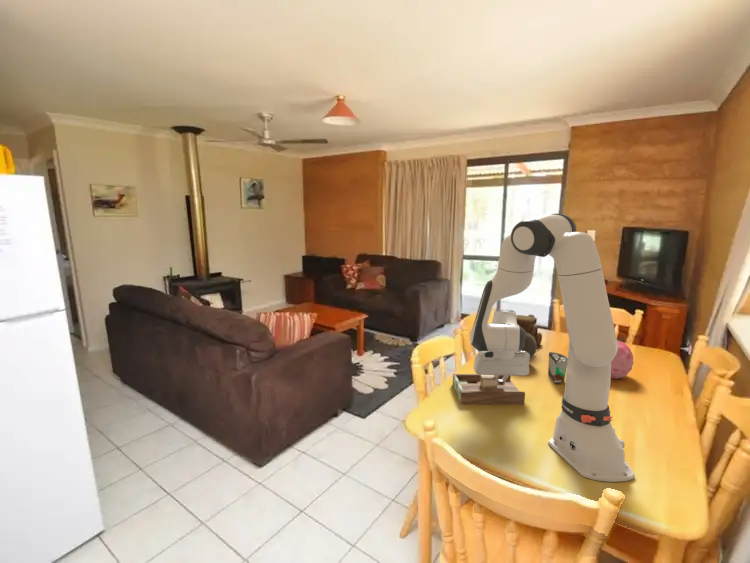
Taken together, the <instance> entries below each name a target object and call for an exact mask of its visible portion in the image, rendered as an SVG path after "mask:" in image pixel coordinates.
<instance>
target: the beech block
mask: <svg viewBox="0 0 750 563" xmlns="http://www.w3.org/2000/svg"><path fill="white" fill-rule="evenodd" d="M480 385H481V387H482V389H483V390H491V391H497V379H496V378H495V377H494V375H481V378H480Z"/></svg>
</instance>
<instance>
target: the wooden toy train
mask: <svg viewBox="0 0 750 563" xmlns="http://www.w3.org/2000/svg"><path fill="white" fill-rule="evenodd" d="M516 320H517V325H519V326H520V327H521V328H523V329H524V330H525V332H527V333H529V334H531V335H532V336H533V338H534V339H535V341H536V343H537V346H540V345H541V343H542V341H543V335H542V333H541V332H538V330H539V327H538V325H536V324H537V322H538V321H537V320H538V318H537V317H535V315H534V314H528V315H523V314H516Z"/></svg>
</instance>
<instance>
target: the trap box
mask: <svg viewBox="0 0 750 563" xmlns="http://www.w3.org/2000/svg"><path fill="white" fill-rule="evenodd" d="M511 376H512V375H508V378H507V380H506V381H505V385H497V391H491V390H483V389H482V387H481V385H480V378H481V375H478V374H476V373H453V374H452V386H453V389H454V390H456V391H455V393H456V396H457V395H458V396H457V398H458V400H459V403H460V402H461V403H460V404H461V405H525V402H526V401H525V400H526V392H525V391H520V390H519V388H518V387H517V386H516V385H515V384H514V382H513V381H512V380H511ZM503 377H504V376H503V375H499V377H497V378H498V379H502V378H503Z"/></svg>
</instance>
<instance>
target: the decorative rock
mask: <svg viewBox="0 0 750 563" xmlns="http://www.w3.org/2000/svg"><path fill="white" fill-rule="evenodd" d="M617 343H618V349H617V353H616V355H615V357H614V359H613V360H612V361H611V379H621V378H625V377H626V376H628V375H629V372H630V371H632V369H633V366H634V354H633V352H632V350H631V349H630V347H629V346H628V345H627V344H626V343H625V342H622V341H620V340H617Z"/></svg>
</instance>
